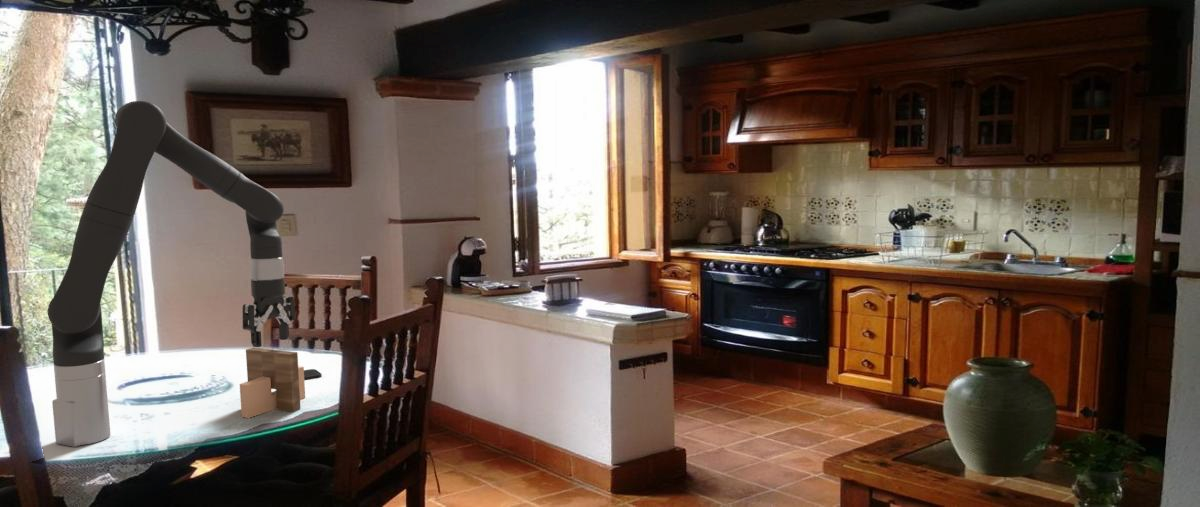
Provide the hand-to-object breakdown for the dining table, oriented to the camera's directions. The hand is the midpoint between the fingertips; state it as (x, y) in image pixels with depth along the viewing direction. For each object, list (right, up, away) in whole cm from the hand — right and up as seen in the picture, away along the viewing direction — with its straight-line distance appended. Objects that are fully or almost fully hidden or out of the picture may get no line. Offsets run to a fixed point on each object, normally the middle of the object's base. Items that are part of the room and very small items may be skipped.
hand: (270, 342), depth 199 cm
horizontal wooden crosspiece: (0, -16, +2) cm, 16 cm away
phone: (-6, -13, +28) cm, 32 cm away
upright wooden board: (0, -16, +2) cm, 16 cm away
